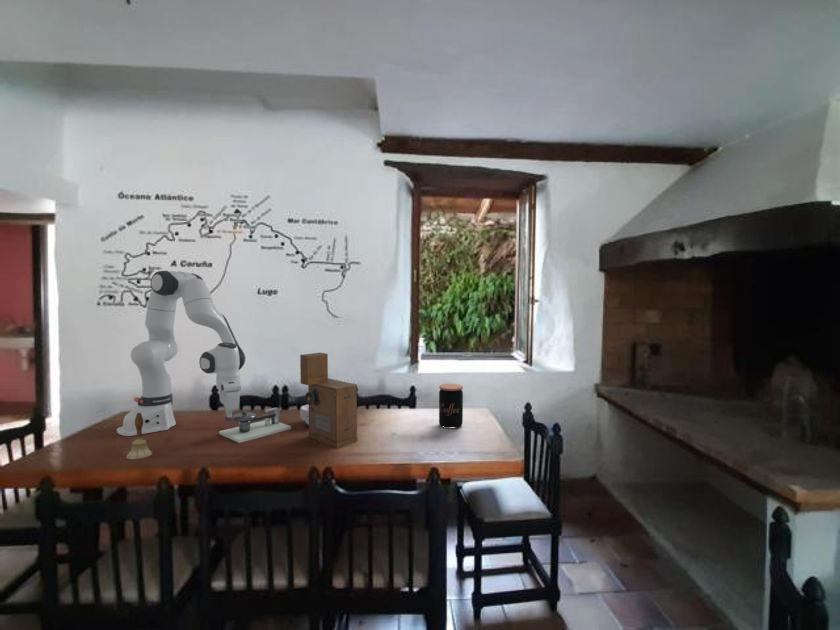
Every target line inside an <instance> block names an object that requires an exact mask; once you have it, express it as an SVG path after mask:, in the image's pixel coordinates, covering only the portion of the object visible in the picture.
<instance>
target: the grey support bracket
mask: <svg viewBox="0 0 840 630" xmlns="http://www.w3.org/2000/svg"><path fill="white" fill-rule="evenodd" d="M264 413H267V414H270V413H275V414H276V416H275V423H276V424H280V423H281V422H280V421H281V420H280V416H281V415H280V414H281V413H280V407H276V406H275V407H272V408H267V409H264ZM270 419H271V418H266V419H264V420H265V426H270Z"/></svg>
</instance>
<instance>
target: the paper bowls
mask: <svg viewBox="0 0 840 630" xmlns="http://www.w3.org/2000/svg"><path fill="white" fill-rule="evenodd" d="M299 408H300V411H299V413H300V419H301V420H302V421H304V422H305V424H306V425H308V426H309V405H308V404H303V405H302V406H301V407H299Z"/></svg>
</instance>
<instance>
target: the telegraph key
mask: <svg viewBox="0 0 840 630" xmlns="http://www.w3.org/2000/svg"><path fill="white" fill-rule="evenodd" d="M275 416H276V414H275V412H271V413H267V414H262V415H258V416H257V415H256V413H255V412H250V411H249V412H248V411H247V414H246V415H242V412H239V413H236V414H232V417H230V418H228V417H227V416H226V409H225V408H224V421H225V422H227V423H229V422H233V421H235V422H238V427H239V432H248V431H250V424H251V423H252V422H253V423H254V422H256V421H257V422H258V421H263V420H265V419H266V418H268V419H271V424H275Z"/></svg>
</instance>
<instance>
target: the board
mask: <svg viewBox="0 0 840 630" xmlns="http://www.w3.org/2000/svg"><path fill="white" fill-rule="evenodd" d="M247 412H248V411H247V410H244V411H241V413H242V415H246V414H247ZM269 419H270V426H265V419H263V420H259V421H257V422H256V421H255V422H253V423H252V422H250V431H248V432H239V426H235V427H232V428H227V429H224V430H219V431H218V434H219V435H220V436H222V437H225V438H228V439H230V440H232V441H233V442H236V443H238V444H240V443H244V442H247V441H253V440H255V439H259V438H264V437H266V436H270V435H275V434H278V433H282V432H285V431H286V432H287V431H289V430H292V426H291V425H288V424H286V423H284V422H280V424H276V423H275V424H271V418H269Z"/></svg>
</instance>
